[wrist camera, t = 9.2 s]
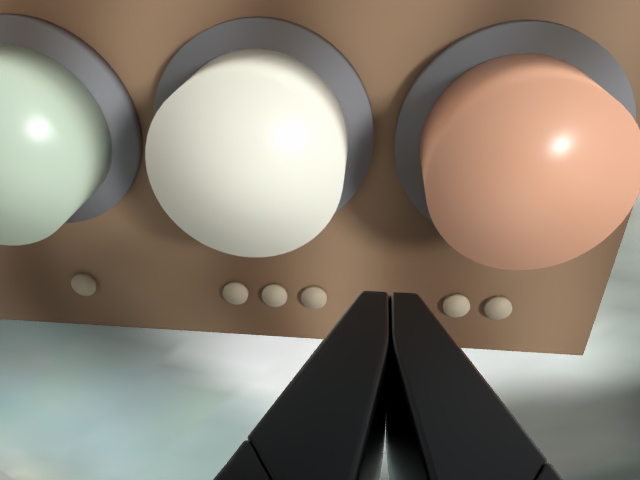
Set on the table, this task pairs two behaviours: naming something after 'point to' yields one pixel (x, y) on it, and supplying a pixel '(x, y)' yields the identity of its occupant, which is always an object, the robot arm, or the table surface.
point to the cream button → (250, 154)
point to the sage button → (46, 145)
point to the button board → (359, 180)
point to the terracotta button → (528, 162)
